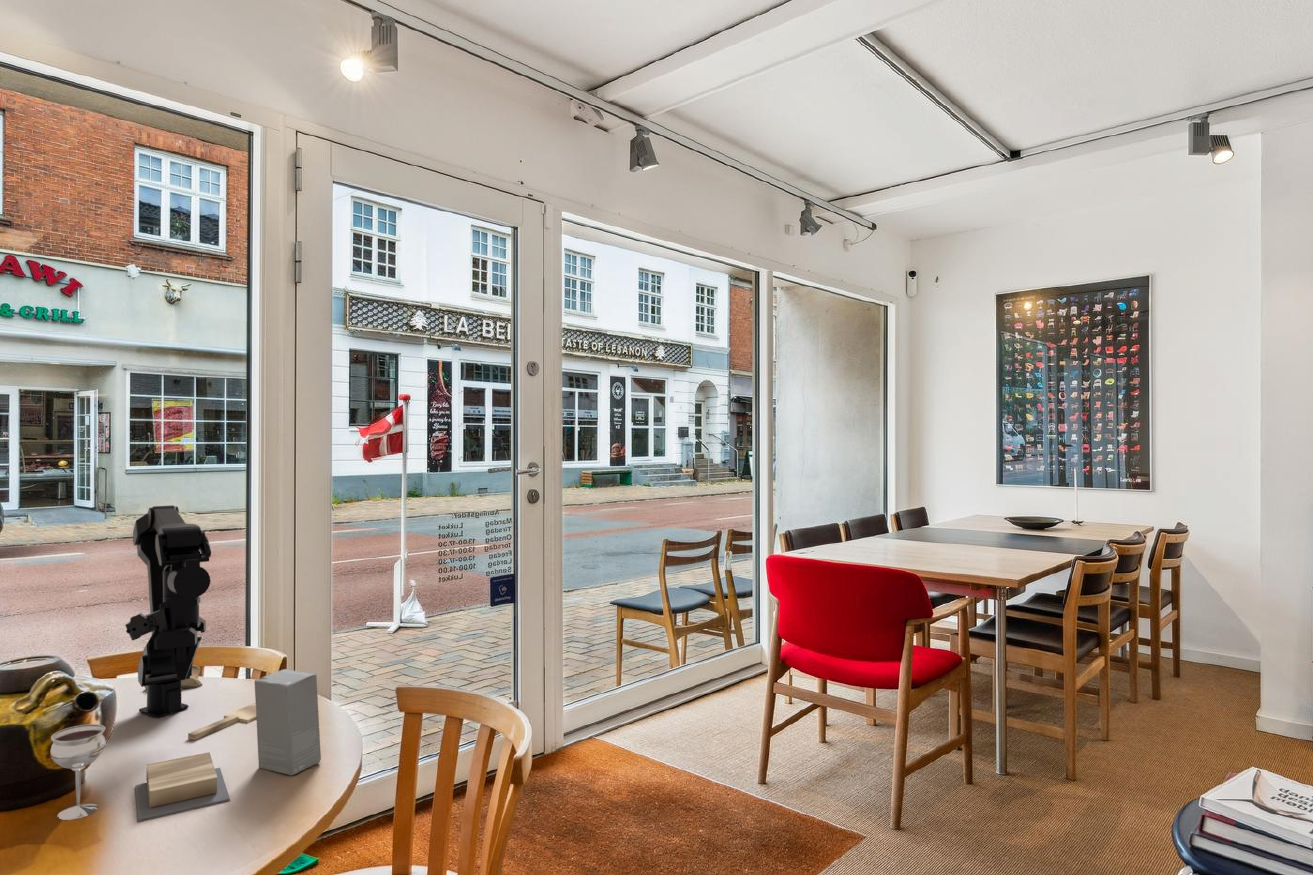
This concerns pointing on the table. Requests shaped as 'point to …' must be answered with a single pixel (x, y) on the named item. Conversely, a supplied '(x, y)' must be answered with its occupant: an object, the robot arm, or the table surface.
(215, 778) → the oak tile
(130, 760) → the table surface
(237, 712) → the wooden spatula
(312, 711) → the skincare box
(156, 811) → the felt mat
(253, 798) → the table surface
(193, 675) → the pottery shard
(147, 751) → the table surface
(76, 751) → the wineglass
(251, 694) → the table surface
